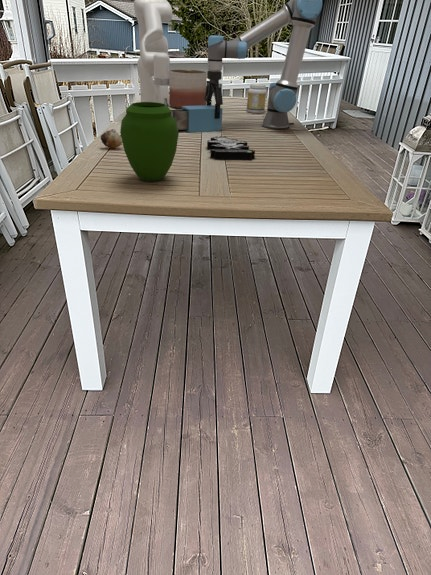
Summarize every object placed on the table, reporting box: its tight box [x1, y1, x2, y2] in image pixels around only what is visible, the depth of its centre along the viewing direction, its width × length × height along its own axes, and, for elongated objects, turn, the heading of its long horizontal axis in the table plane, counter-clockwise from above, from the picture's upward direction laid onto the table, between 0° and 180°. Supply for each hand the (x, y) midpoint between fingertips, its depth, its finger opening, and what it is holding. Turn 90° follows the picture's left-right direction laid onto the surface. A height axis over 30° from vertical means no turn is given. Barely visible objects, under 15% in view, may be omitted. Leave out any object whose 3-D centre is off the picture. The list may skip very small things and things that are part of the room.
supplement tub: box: [246, 83, 267, 114], centre depth 274 cm, size 12×12×17 cm
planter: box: [168, 69, 208, 109], centre depth 278 cm, size 25×25×22 cm
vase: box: [119, 101, 179, 182], centre depth 140 cm, size 20×20×24 cm
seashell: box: [100, 128, 123, 149], centre depth 178 cm, size 10×6×8 cm, turn 91°
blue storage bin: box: [182, 104, 223, 133], centre depth 220 cm, size 19×10×11 cm, turn 115°
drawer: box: [171, 108, 189, 131], centre depth 214 cm, size 24×9×9 cm, turn 115°
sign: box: [206, 135, 256, 161], centre depth 185 cm, size 19×3×30 cm
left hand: (162, 121), depth 211 cm, fingers closed
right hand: (212, 116), depth 222 cm, fingers closed on blue storage bin, 10 cm apart
